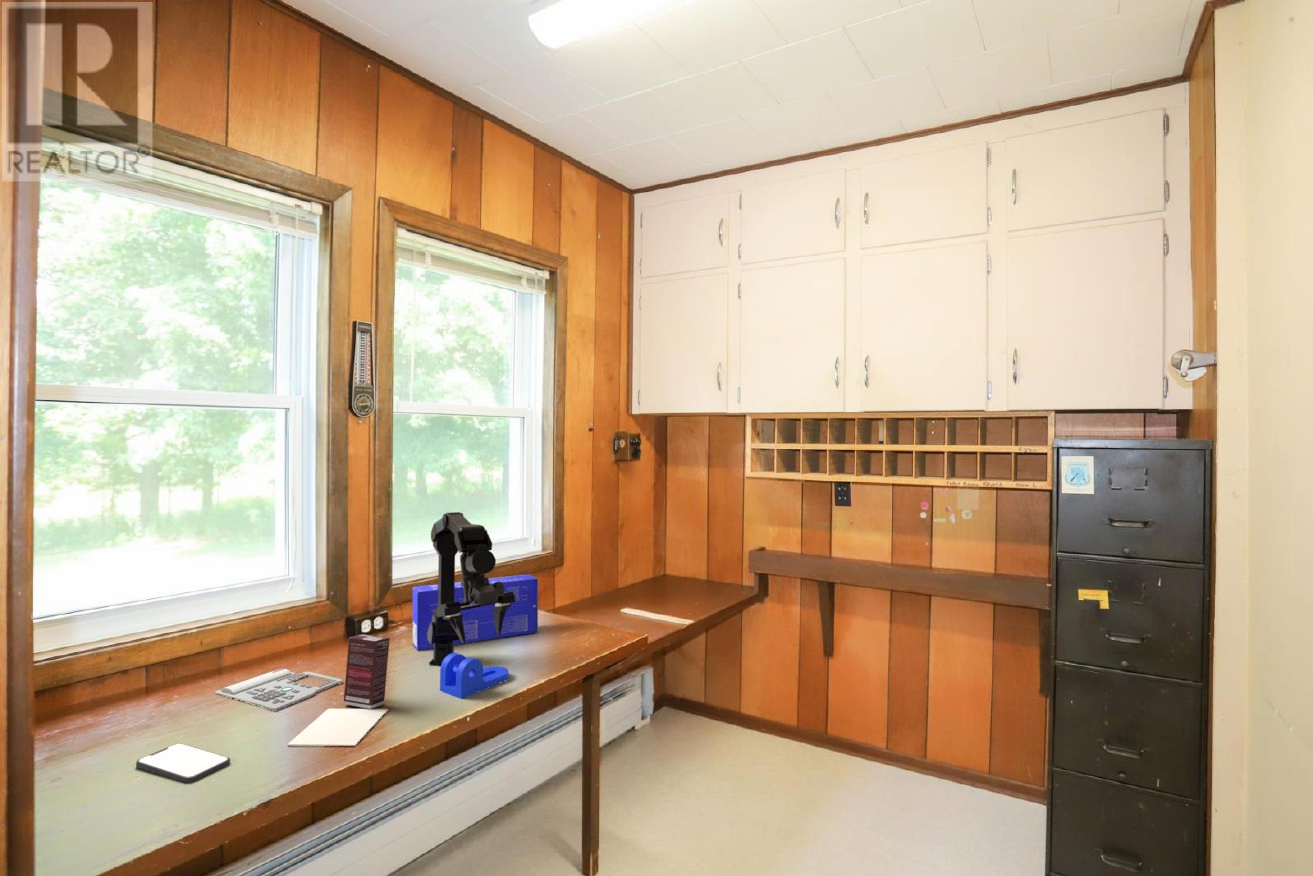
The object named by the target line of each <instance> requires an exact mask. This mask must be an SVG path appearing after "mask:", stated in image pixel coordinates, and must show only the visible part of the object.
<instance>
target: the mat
mask: <svg viewBox="0 0 1313 876" xmlns="http://www.w3.org/2000/svg"><path fill="white" fill-rule="evenodd" d="M388 711H389V709H388V708H372V709H368V708H327V709H326V710H325V711H324V712H323V713H321V714H320V715H319V716H318V717H317V718H316V719H314V720H313V722H311V723H310V724H308V726H307V727H305V728H304V729H303V730H301V732H300V733H299V734H298V735H297V736H295V737H294V738H293V739H292V740H291V741H290V742H288V743H287V747H324V746H355V747H356V746H357V745H358V744H359V743H360V742H361V741H362V740H363V739H364V737H366V735H367V734H368V733H369V732H370V731H371V730H372V729H373V728H374V727H373V726H376V724H378V722H379V721H380V720H382V718H383V717H384V716H385V715H386V714H387V713H388ZM384 714H385V715H384ZM383 715H384V716H383ZM382 716H383V717H382ZM379 719H380V720H379ZM372 727H373V728H372ZM371 728H372V729H371ZM370 729H371V730H370ZM369 730H370V731H369ZM367 732H368V733H367ZM362 738H363V739H362ZM361 739H362V740H361ZM360 740H361V741H360ZM358 742H359V743H358Z"/></svg>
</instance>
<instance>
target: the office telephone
mask: <svg viewBox="0 0 1313 876" xmlns="http://www.w3.org/2000/svg"><path fill="white" fill-rule="evenodd" d="M293 675H295V676H293ZM291 676H292V677H291ZM306 676H311V677H315V678H314V679H316V678H322V679H325V680H327V681H325V682H324V683H321V684H320V685H316V686H311V685H307V684H302V683H299V682H292V681H294V680H296V679H299V678H303V677H306ZM289 677H290V678H289ZM311 677H310V678H311ZM284 678H287V679H284ZM306 678H307V677H306ZM282 679H284V680H282ZM303 679H304V678H303ZM280 680H281V681H280ZM277 681H278V682H277ZM328 681H329V682H328ZM339 683H342V684H343V679H342V678H337V677H334V676H330V675H325V674H320V673H316V672H312V671H303V672H301V673H298V674H296V672H293V671H291V670H289V669H287V668H286V667H282V668H278V669H276V670H273V671H270V672H267V673H264V674H261V675H258V676H255V677H252V678H249V679H247V680H244V681H241V682H238V683H234V684H231V685H228V686H226V687H222V688H221V689H218V690H215V691H214V694H215V693H217V694H219V695H218V696H220V695H223V696H230V697H232V698H235V699H238V700H244V701H247V702H250V703H252V704H255V705H259V706H262V707H264V708H266V709H268V710H267V711H269V710H272V711H271V712H273V711H275V710H278V711H280V709H281V708H283V709H285V708H284V707H285V706H288V705H291V704H293V703H296V702H298V701H300V700H303V701H305V700H304V699H306V698H308V697H310V696H313V695H315V696H316V694H317V693H316V692H318V691H321V692H323V691H322V690H324V689H326V688H328V687H331V688H333V687H332V686H334V685H336V684H339ZM339 685H340V684H339ZM336 686H337V685H336ZM334 687H335V686H334ZM326 690H327V689H326ZM324 691H325V690H324ZM315 693H316V694H315ZM217 694H216V695H217ZM223 696H222V697H223ZM313 697H314V696H313ZM308 699H309V698H308ZM306 700H307V699H306ZM298 703H299V702H298ZM296 704H297V703H296ZM293 705H294V704H293ZM291 706H292V705H291ZM288 707H289V706H288ZM266 709H265V710H266ZM281 710H282V709H281ZM275 712H276V711H275Z"/></svg>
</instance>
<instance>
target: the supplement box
mask: <svg viewBox="0 0 1313 876" xmlns="http://www.w3.org/2000/svg"><path fill="white" fill-rule="evenodd" d="M347 647H348V648H347V661H346V671H345V683H344V694H343V703H342V704H343V705H347V706H352V707H358V708H361V709H376V708H378V707H381V706H383V705H384V704H385V699H386V697H385V696H386V683H387V674H388V673H387V672H388V660H389V651H390V650H389V648H390V637H383V636H377V635H376V636H375V635H369V634H357V635H353V636H350V637H348V646H347Z"/></svg>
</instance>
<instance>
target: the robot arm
mask: <svg viewBox="0 0 1313 876" xmlns="http://www.w3.org/2000/svg"><path fill="white" fill-rule="evenodd" d="M430 540H431V542H432V547H433V549H434V550H435V551H436V554H437V555H438V567H437V568H438V569H437V571H438V576H437V578H438V579H437V580H438V581H437V583H438V607H437V608H436V610H435V611H434V613H433V615H432V623H430V626H429V629H428V632H427V640H428V641H429V643H430V644H434V649H433V652H432V653H433V654H432V655H433V658H432V659H431V660H430V661H429V663H428V664H429V666H433V665H434V666H437V665H438V666H441V664H442V662H443V660H444V659H445V657H446V656H448V655H449V654H451V653H455V645H454V641H455V640H461V642H462V643H465V634H464V628H463V623H462V619H463V614H462V615H460V611H462V610H467V609H472V608H477V607H482V606H486V605H491V604H495V607H492V608H493V614H494V621H495V628H496V632H497V635H500V634H501V629H502V624H503V619H504V616H505V613H506V611H507V609H508V608H509V607H511V606H512V604H509V603H513V602H516V595H515V593H514V592H513V591H511V592H504V585H503V582H501V581H500V582H495V583H494V584H493V585H490V583H489V579H490V578H489V577H487V574H488V573H490V572H492V571H493V570H494V568H495V566H496V563H497V562H496V561H497V560H496V557H495V554H493V552H491V551H492V550H493V541H492V540H491V537H490V535H489V533H488V530H487V529H486V528H485V527H484V525H481V524H475V523H474V524H473V523H471V522H470V521H469V520H468V519H467V517H465V516H464V514H463V512H460V511H456V512H446V513H443V515H442V517H441V518H440V519H438V520H437V521H435V522H434V523H433V525H432V528H431V530H430ZM458 553H459V554H460V553H461V554H460V556H459V563H460V570H461V578H462V581H460V582H461V586H463V589H464V597H465V598H463V603H459V602H454V598H455V581H456V580H455V578H456V576H455V575H456V555H457V554H458ZM473 601H475V603H474V604H471V605H470V603H472V602H473ZM464 602H465V603H464Z"/></svg>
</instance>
